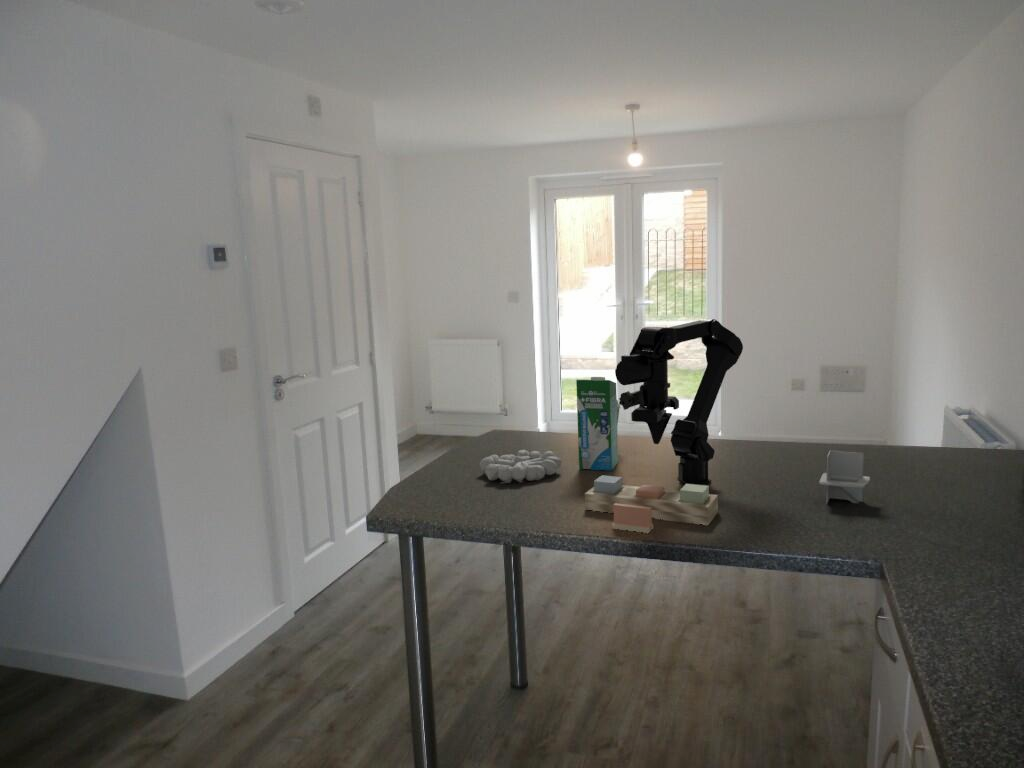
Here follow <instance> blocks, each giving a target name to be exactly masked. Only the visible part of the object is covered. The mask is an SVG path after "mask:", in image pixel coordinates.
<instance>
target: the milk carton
mask: <svg viewBox="0 0 1024 768" xmlns="http://www.w3.org/2000/svg"><path fill="white" fill-rule="evenodd" d="M575 381H576V382H575V383H576V407H577V409H576V410H577V411H576V412H577V416H576V417H577V439H578V440H577V441H578V442H577V443H578V470H579V469H591V470H590V471H599V470H605V471H604V472H612V471H613V470H614V468H615V467H616V466H617V464H618V463H619V447H618V446H619V445H618V442H619V441H618V437H619V436H618V425H617V400H618V398H617V383H616V381H615V382H614V381H612V380H610V379H606V377H603V376H591V377H590V379H576V380H575Z"/></svg>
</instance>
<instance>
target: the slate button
mask: <svg viewBox="0 0 1024 768" xmlns="http://www.w3.org/2000/svg"><path fill="white" fill-rule="evenodd" d="M622 485H623V477H622V476H613V475H602V474H601V476H599V477H598V478H596V479H594V481H593V487H594V492H597V493H606V494H615V495H616V494H617V493H618V492H620V491H621V490H622Z"/></svg>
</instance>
